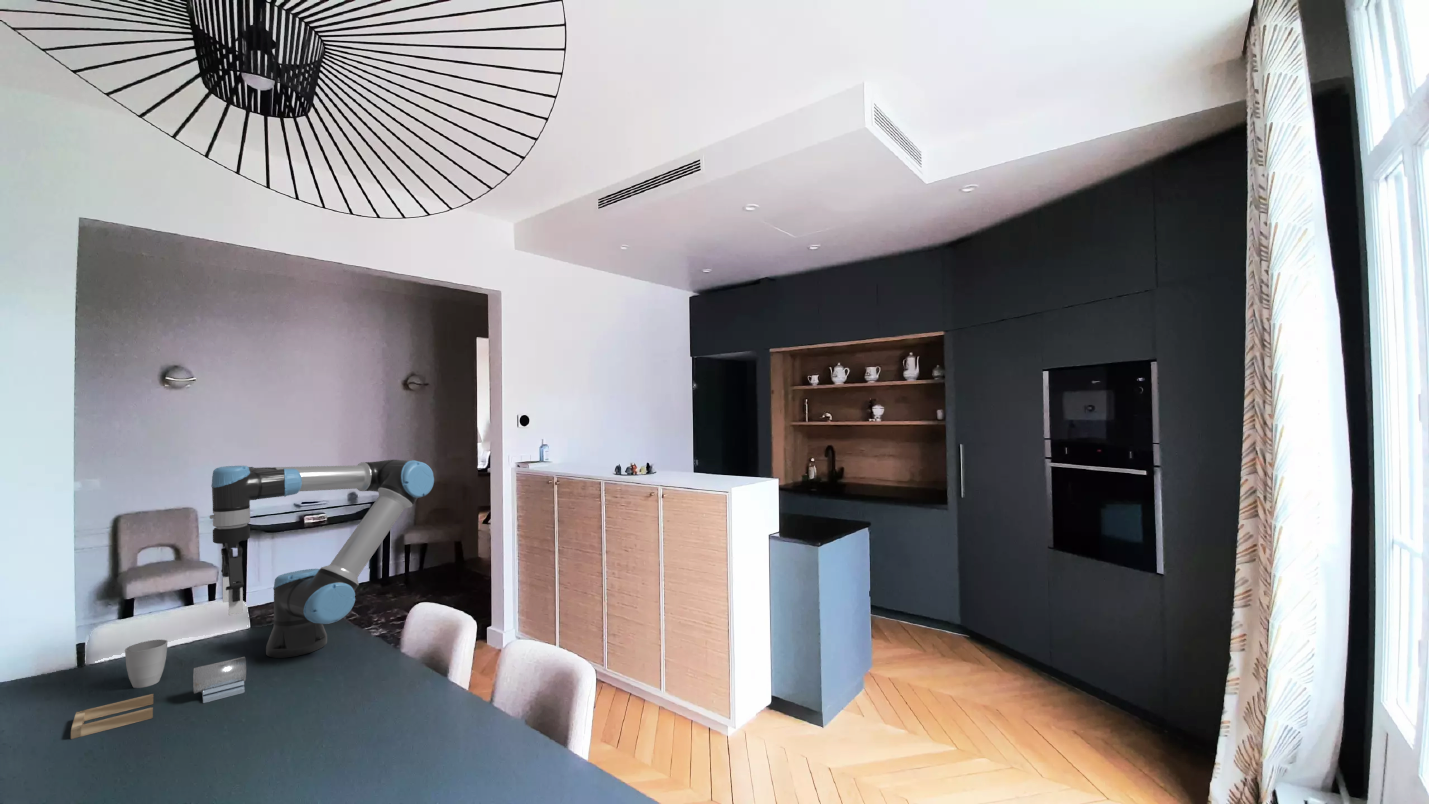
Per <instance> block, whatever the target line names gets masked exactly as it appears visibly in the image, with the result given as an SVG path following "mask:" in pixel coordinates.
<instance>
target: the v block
mask: <svg viewBox="0 0 1429 804" xmlns="http://www.w3.org/2000/svg"><path fill="white" fill-rule="evenodd" d="M245 689H246V688H245V681H240V682H236V683H232V684H228V685H224V686H220V687H216V688H211V689H207V690H203V691H202V692H201V697H202V703H203V704H206V703H209V702H213V701H216V700H217V701H218V700H220V699H224V698H228V697H232V696H236V695H240V694H244V693H246V692H245Z"/></svg>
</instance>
